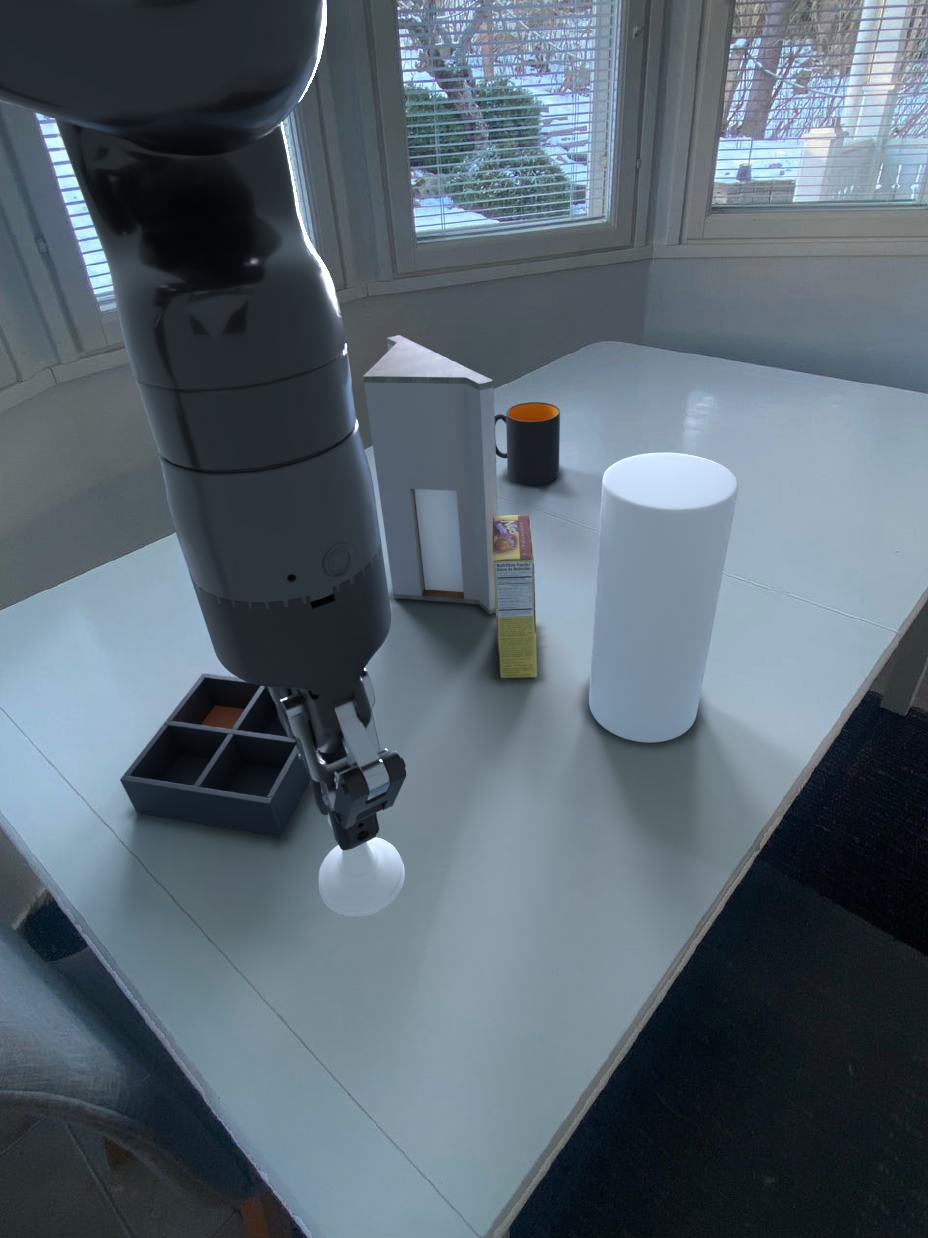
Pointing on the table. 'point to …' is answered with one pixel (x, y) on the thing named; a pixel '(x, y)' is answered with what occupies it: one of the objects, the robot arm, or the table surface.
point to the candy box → (514, 596)
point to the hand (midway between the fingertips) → (348, 821)
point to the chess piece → (361, 877)
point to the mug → (532, 442)
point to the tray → (220, 761)
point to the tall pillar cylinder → (657, 590)
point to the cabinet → (434, 473)
